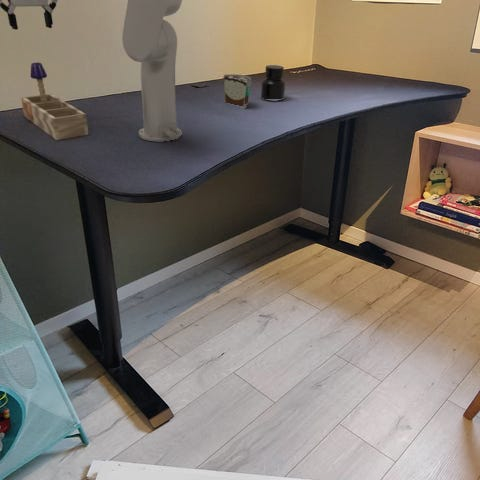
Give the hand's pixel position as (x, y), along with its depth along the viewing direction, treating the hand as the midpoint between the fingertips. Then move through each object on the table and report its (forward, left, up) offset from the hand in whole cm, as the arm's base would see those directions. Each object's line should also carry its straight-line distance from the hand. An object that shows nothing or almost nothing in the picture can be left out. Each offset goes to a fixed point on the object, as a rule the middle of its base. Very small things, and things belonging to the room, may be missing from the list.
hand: (32, 28), depth 135 cm
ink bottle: (-18, -81, -27) cm, 87 cm away
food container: (-18, -64, -27) cm, 72 cm away
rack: (-8, +1, -26) cm, 28 cm away
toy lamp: (0, 0, -27) cm, 27 cm away
